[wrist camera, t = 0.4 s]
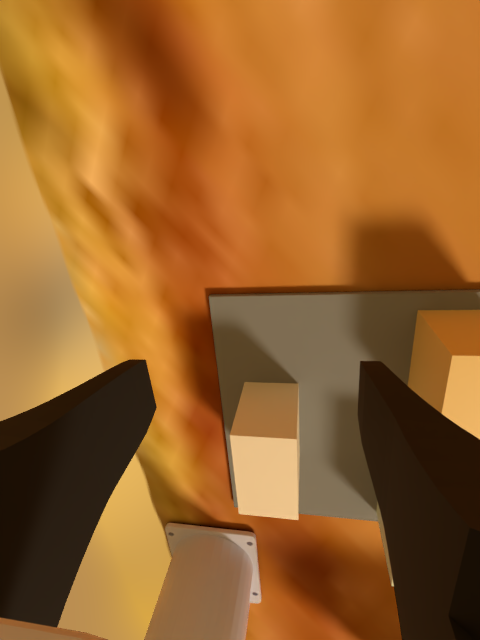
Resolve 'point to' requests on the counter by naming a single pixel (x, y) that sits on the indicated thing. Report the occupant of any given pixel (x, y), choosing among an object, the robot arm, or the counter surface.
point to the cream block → (267, 450)
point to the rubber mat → (321, 374)
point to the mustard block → (448, 364)
